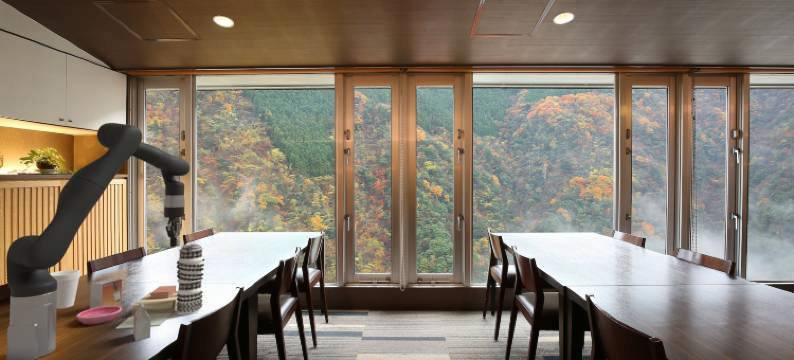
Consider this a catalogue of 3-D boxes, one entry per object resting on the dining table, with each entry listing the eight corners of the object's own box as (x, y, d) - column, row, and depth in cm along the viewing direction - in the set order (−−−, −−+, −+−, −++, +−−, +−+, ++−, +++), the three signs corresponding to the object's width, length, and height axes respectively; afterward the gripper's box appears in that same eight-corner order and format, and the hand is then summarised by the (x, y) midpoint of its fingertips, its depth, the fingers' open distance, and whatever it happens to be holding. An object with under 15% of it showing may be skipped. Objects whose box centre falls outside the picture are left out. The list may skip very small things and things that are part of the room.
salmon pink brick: (168, 297, 138) (168, 291, 138) (150, 299, 137) (150, 292, 137) (176, 291, 147) (176, 285, 147) (159, 292, 145) (159, 286, 146)
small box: (101, 312, 133) (102, 284, 133) (89, 311, 134) (90, 283, 134) (121, 305, 141) (122, 278, 141) (110, 304, 142) (111, 277, 142)
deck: (172, 313, 133) (172, 302, 133) (132, 316, 130) (132, 305, 130) (185, 300, 148) (185, 290, 148) (150, 302, 145) (150, 292, 145)
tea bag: (146, 331, 117) (147, 300, 117) (150, 337, 112) (151, 305, 112) (133, 334, 114) (133, 303, 114) (135, 341, 109) (136, 308, 109)
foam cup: (41, 307, 137) (43, 273, 137) (72, 301, 145) (73, 269, 145) (52, 311, 133) (53, 277, 133) (83, 304, 141) (84, 271, 141)
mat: (160, 325, 121) (160, 324, 121) (115, 329, 118) (115, 328, 118) (172, 313, 133) (172, 312, 133) (132, 316, 130) (132, 315, 130)
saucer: (66, 325, 121) (66, 316, 121) (101, 312, 133) (101, 304, 133) (97, 328, 119) (98, 318, 119) (130, 315, 131) (130, 306, 131)
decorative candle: (179, 307, 139) (180, 243, 139) (205, 305, 142) (207, 243, 142) (172, 316, 130) (173, 247, 131) (200, 313, 133) (202, 246, 133)
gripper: (179, 206, 147) (178, 248, 147) (188, 205, 160) (188, 243, 159) (158, 207, 145) (157, 249, 145) (170, 205, 158) (169, 244, 157)
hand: (173, 246), depth 152 cm, fingers closed
